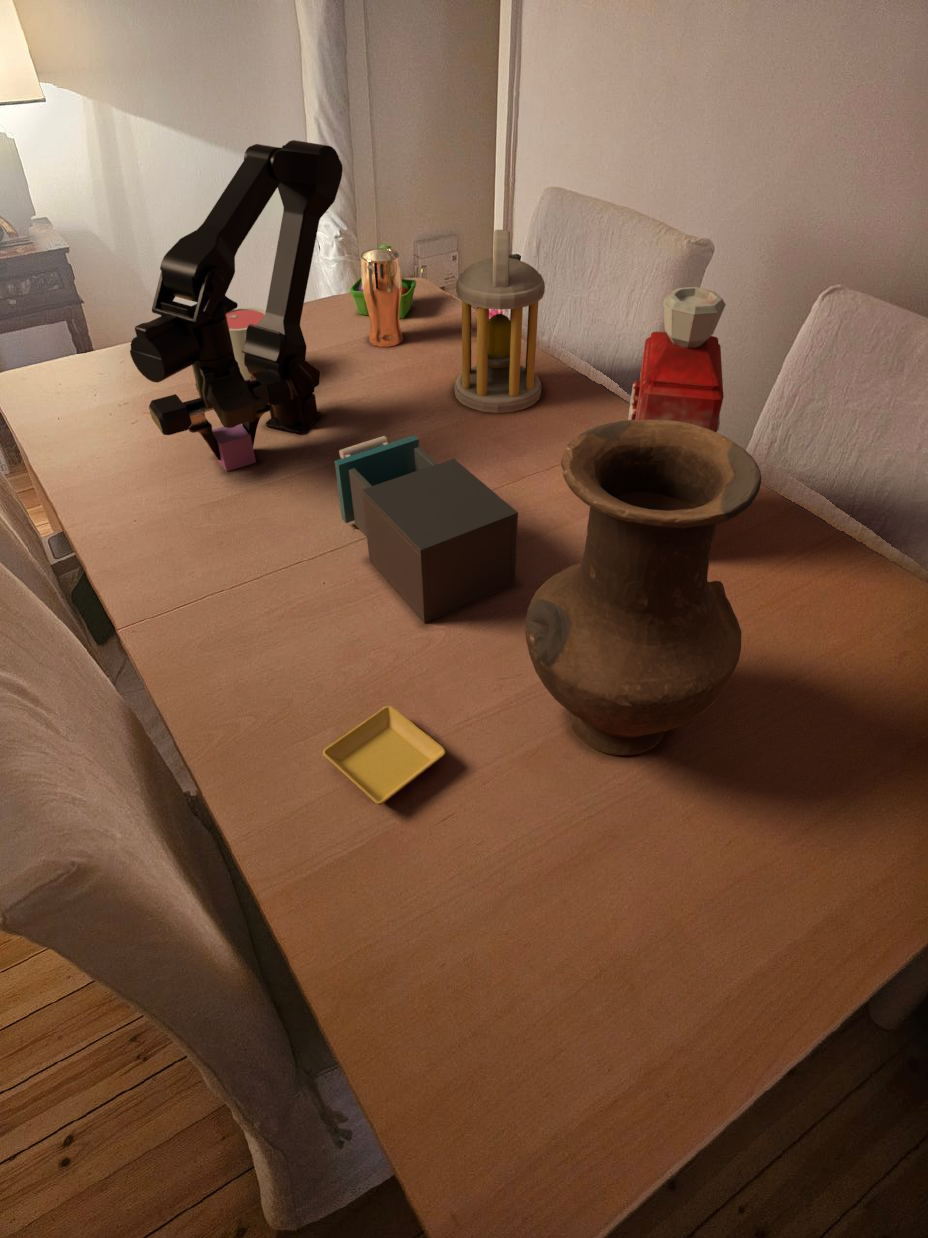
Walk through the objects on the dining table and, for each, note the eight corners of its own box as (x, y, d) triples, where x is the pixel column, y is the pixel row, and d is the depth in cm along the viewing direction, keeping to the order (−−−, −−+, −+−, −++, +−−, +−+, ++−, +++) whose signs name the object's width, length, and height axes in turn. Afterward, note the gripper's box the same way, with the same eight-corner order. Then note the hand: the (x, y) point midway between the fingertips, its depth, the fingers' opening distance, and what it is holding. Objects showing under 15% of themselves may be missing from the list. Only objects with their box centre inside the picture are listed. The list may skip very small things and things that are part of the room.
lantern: (456, 371, 140) (454, 214, 123) (539, 372, 140) (549, 215, 123) (452, 412, 130) (449, 247, 113) (542, 413, 129) (553, 248, 112)
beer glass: (359, 343, 149) (351, 257, 138) (380, 329, 153) (373, 245, 143) (392, 351, 146) (386, 264, 136) (412, 336, 151) (408, 251, 141)
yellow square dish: (322, 764, 79) (319, 751, 78) (390, 716, 84) (388, 702, 82) (380, 819, 75) (378, 805, 73) (448, 765, 79) (448, 751, 78)
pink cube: (226, 471, 118) (220, 444, 114) (215, 457, 120) (209, 430, 117) (256, 462, 119) (250, 435, 116) (244, 448, 122) (239, 421, 119)
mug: (218, 370, 141) (206, 313, 134) (271, 360, 144) (261, 303, 137) (237, 405, 132) (225, 346, 125) (293, 393, 135) (284, 334, 128)
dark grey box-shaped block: (369, 561, 102) (361, 489, 95) (455, 528, 107) (453, 457, 100) (424, 623, 94) (420, 550, 87) (514, 585, 99) (518, 512, 92)
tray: (328, 503, 110) (320, 446, 104) (402, 478, 114) (398, 421, 108) (387, 569, 100) (382, 510, 94) (466, 539, 104) (466, 480, 98)
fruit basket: (350, 316, 157) (344, 255, 150) (365, 299, 164) (360, 239, 156) (407, 322, 155) (404, 260, 148) (420, 304, 162) (418, 244, 154)
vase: (717, 670, 88) (790, 419, 68) (706, 819, 74) (794, 561, 54) (541, 637, 92) (561, 391, 72) (500, 773, 78) (510, 516, 58)
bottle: (692, 564, 101) (748, 327, 81) (609, 554, 103) (643, 319, 83) (692, 499, 112) (742, 274, 91) (616, 490, 113) (648, 268, 93)
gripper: (159, 394, 100) (189, 500, 110) (301, 356, 107) (316, 460, 118) (134, 359, 107) (164, 463, 117) (268, 327, 114) (285, 427, 125)
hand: (234, 454), depth 119 cm, fingers closed on pink cube, 4 cm apart
